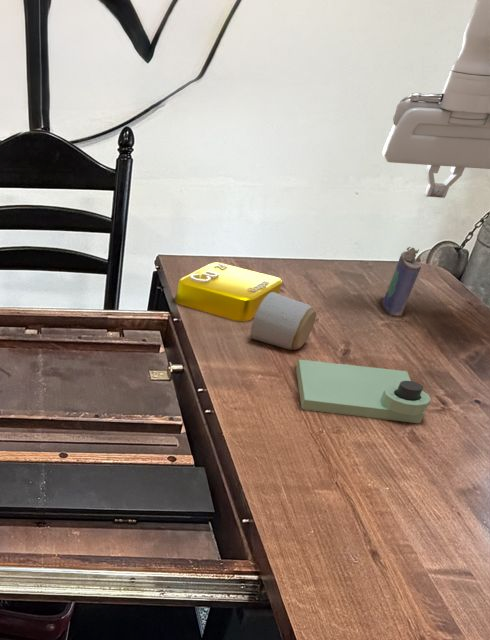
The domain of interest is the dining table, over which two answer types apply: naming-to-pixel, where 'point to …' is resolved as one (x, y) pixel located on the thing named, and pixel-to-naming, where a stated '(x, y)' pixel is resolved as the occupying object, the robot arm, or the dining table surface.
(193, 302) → the element tile
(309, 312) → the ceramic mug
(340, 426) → the dining table surface
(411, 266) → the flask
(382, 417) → the green base with knob
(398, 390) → the button
